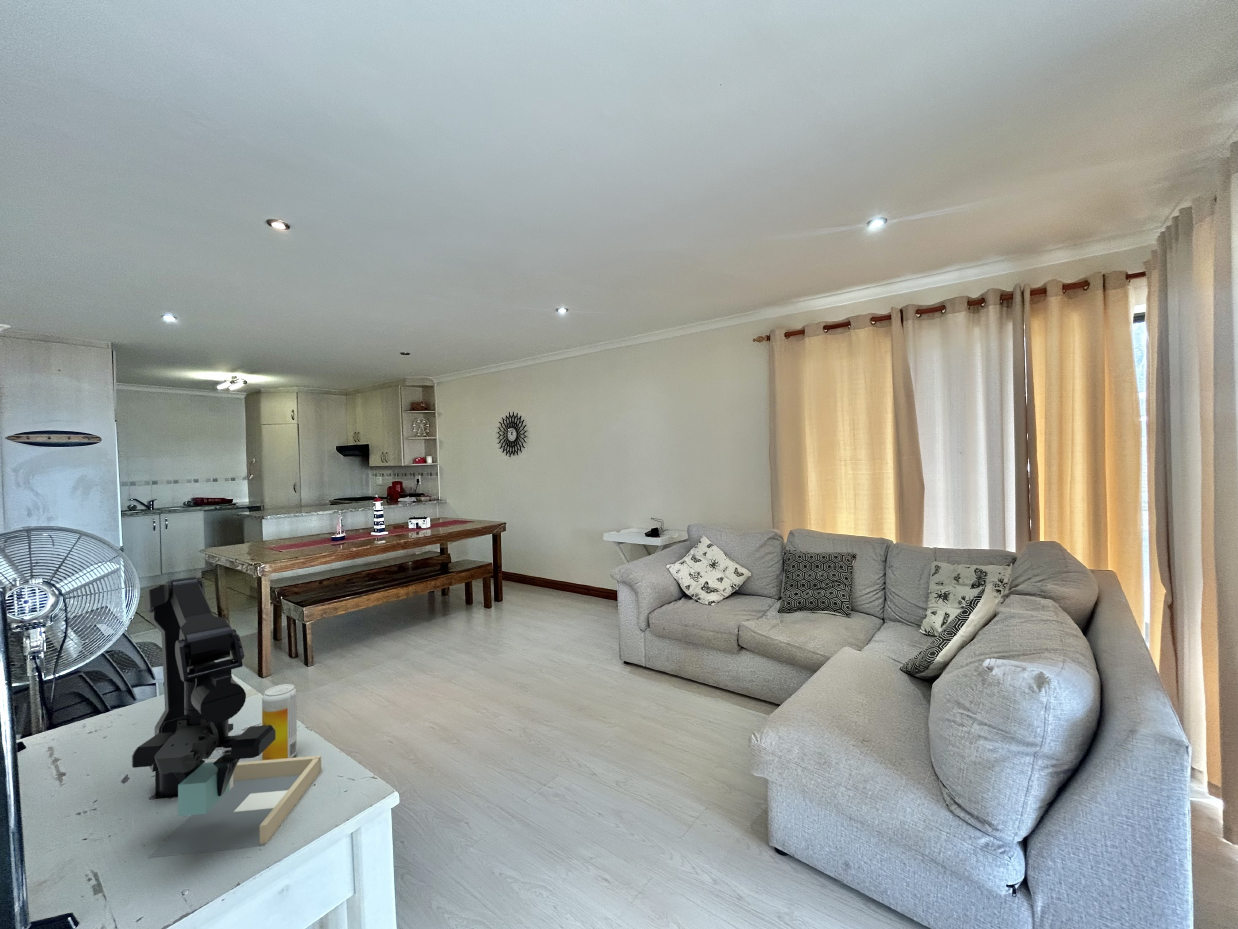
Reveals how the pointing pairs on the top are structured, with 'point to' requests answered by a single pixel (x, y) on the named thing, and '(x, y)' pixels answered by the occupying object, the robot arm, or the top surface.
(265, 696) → the beer can
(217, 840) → the board
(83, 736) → the top surface
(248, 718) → the top surface
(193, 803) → the teal block
